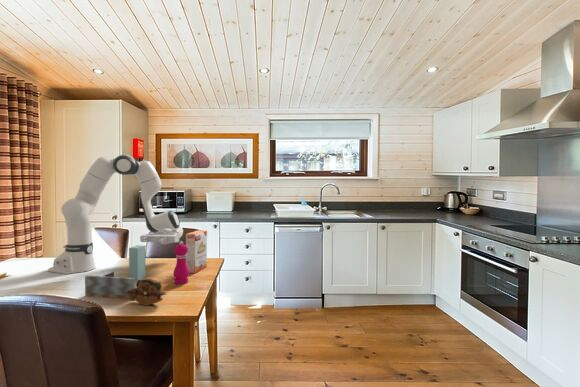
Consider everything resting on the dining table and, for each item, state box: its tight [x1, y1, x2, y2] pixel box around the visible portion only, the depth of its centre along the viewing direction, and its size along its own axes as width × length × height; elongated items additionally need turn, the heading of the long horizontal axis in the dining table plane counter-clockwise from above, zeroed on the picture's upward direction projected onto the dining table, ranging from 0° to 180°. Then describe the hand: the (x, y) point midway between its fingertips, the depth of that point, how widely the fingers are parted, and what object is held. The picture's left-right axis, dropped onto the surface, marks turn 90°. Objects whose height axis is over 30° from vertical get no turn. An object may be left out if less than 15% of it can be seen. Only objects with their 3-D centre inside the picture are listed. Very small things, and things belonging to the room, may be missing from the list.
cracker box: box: [185, 229, 208, 274], centre depth 179 cm, size 14×6×21 cm, turn 168°
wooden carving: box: [127, 277, 167, 306], centre depth 130 cm, size 16×5×10 cm, turn 80°
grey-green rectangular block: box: [128, 244, 147, 281], centre depth 163 cm, size 4×6×16 cm
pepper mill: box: [173, 240, 190, 285], centre depth 157 cm, size 7×7×20 cm
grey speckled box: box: [84, 271, 137, 300], centre depth 145 cm, size 22×18×8 cm
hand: (151, 240), depth 174 cm, fingers open, 8 cm apart
